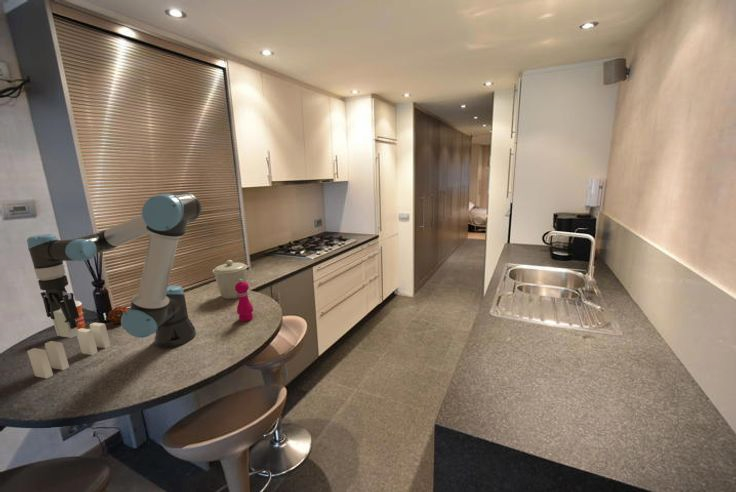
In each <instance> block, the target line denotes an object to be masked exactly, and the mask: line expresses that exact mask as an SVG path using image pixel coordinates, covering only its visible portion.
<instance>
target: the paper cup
mask: <svg viewBox="0 0 736 492" xmlns="http://www.w3.org/2000/svg"><path fill="white" fill-rule="evenodd" d="M74 301H75V305H76V308H77V311H78V314H79V318H76V319H75V321H76V325H77V328H78V329H80V328H83V329H86V322H85V318H84V313H83V308H82V304H83V303H82V302H81V301H80V300H74ZM60 310H61V308H60Z"/></svg>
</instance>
